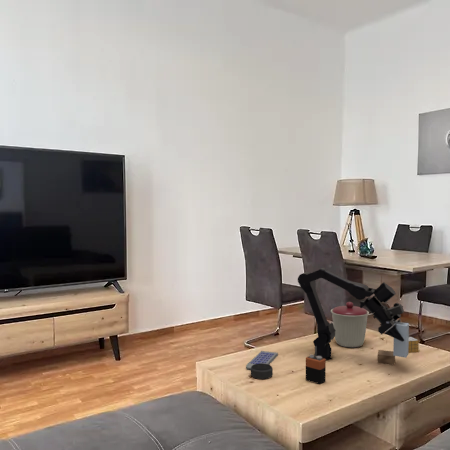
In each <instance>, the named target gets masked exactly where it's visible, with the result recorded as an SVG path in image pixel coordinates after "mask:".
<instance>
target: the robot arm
mask: <svg viewBox="0 0 450 450" xmlns="http://www.w3.org/2000/svg"><path fill="white" fill-rule="evenodd" d="M319 279H323V280H325V281H327V282H329V283H331V284H334V285H335V286H338V288H341V289H343V290H345V291H346V292H347V293H349V294H350V296H352V297H353V298H355V299H356V300H360V302H359V304H360V305H359V307H360V308H364V307H366V308H367V309H366V310H367V311H368V312H369V313H371V314H372V316H373V319H376V320H377V321H378V323H380V324H379V325H380V326H379V327H378V328H377V329H378V330H377V331H378V333H379V334H380V335H383V334H384V335H386V336H389V337H392V338H393V339H394V338H396V339H398V340H400V341H402V342H403V341H404V339H403V337H402V336H401V334H400V333H399V331H398V330H397V324H395V323H396V322H401V320H402V319H401V317H402V315H403V314H404V312H405V310H404V306H403V305H402V304H400V303H399V302H395V303H393V306H392V307H388V306H384V305H383V304H382V303H385V304H386V303H387V302H388V301H390V300H391V299H392V298H394V296H396V294H397V293H396V291H395V289H393V288H392V286H390V285H389V284H387V283H386V282H384V281H383V282H381V283H380V285H379V286H378V287H377V288H373V287H369V286H367V284H364V283H360V282H355V281H352V280H349V279H348V278H345V277H343V276H341V275H339V274H336V273H335V272H333V271H331V270H328V268H326V267H322V268H319V269H318V270H315V271H312V272H311V271H306V272H303V273H300V274H299V275H298V277H297V283H298V284H299V287H300V289H301V290H302V291H303V292H304V293H305V295H306V297H307V299H308V303H309V305H310V308H311V311H312V314H313V316H314V319H315V322H316V333H317V337H316V338H315V339H314V340H313V341H312V342H313V346H314V354H313V355H314V356H321V357H322V358H325V359H326V361H327V360H332V347H331V344H330V343H331V341H333V339H335V331H336V330H335V329H334V326H333V322H329V321H328V320H327V316H326V314H325V312H324V308H323V307H322V303H321V301H320V298H319V295H318V293H317V289H316V285H317V284H316V280H319ZM371 296H372V297H371ZM394 324H395V325H394Z"/></svg>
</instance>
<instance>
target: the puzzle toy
mask: <svg viewBox="0 0 450 450" xmlns="http://www.w3.org/2000/svg"><path fill="white" fill-rule="evenodd" d="M419 341H420V340H419V339H417V338H414V337H412V336H409V346H408V354H413V353H419V351H420V349H419V347H420V346H419V344H420V343H419Z"/></svg>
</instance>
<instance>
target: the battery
mask: <svg viewBox="0 0 450 450" xmlns="http://www.w3.org/2000/svg"><path fill="white" fill-rule="evenodd" d="M326 361H327V360H326V359H325V358H322V357H321V356H314V354H309V355H308V356H306V357H305V380H306V381H308V382H312V383H315V384H319V385H320V384H323V383H324V382H326V380H327V379H326V375H327V373H326V372H327V371H326V368H327V367H326V365H327V364H326V363H327V362H326Z"/></svg>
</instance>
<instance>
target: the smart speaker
mask: <svg viewBox="0 0 450 450" xmlns="http://www.w3.org/2000/svg"><path fill="white" fill-rule="evenodd" d="M273 370H274V369H273V366H271V365H268V364H264V363H259V364H254V365H252V366H251V371H250V375H251V377H252V378H254V379H256V380H257V379H258V380H267V379H270V378H272V377H273V375H274V372H273Z"/></svg>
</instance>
